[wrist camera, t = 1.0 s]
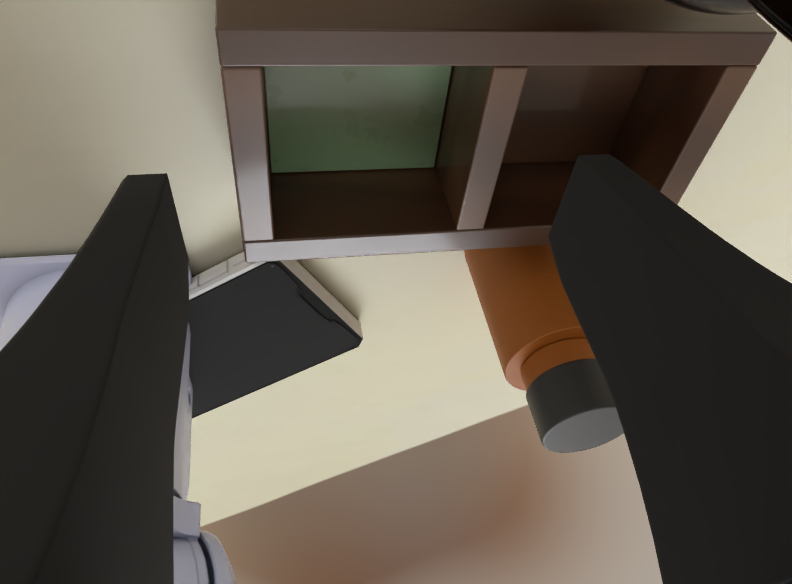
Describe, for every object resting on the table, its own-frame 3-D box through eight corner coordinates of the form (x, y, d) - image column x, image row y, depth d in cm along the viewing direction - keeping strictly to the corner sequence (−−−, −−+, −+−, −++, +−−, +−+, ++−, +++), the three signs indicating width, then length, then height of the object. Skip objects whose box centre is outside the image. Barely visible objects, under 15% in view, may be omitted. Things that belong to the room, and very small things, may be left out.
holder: (615, 169, 26) (658, 239, 23) (243, 182, 23) (245, 263, 20) (706, -33, 20) (778, 32, 17) (216, -47, 17) (214, 27, 14)
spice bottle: (543, 271, 30) (622, 451, 24) (456, 277, 29) (515, 465, 23) (572, 203, 27) (670, 392, 21) (474, 207, 26) (548, 406, 20)
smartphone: (-2, 388, 28) (270, 253, 24) (4, 366, 29) (269, 231, 25) (131, 446, 34) (368, 345, 30) (134, 427, 35) (365, 325, 31)
